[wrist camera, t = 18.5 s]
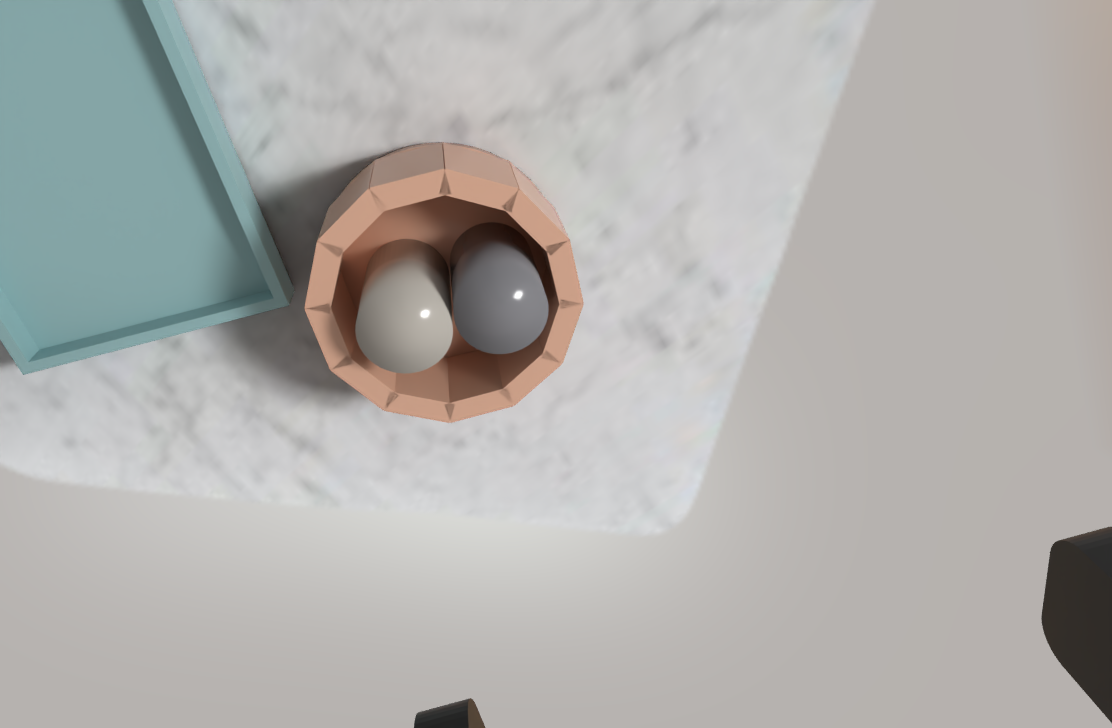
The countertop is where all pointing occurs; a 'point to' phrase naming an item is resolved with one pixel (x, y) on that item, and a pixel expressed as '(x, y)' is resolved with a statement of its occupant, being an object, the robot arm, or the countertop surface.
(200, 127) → the tray
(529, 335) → the grey rounded cylinder
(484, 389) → the bowl
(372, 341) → the beige rounded cylinder
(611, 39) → the countertop surface
